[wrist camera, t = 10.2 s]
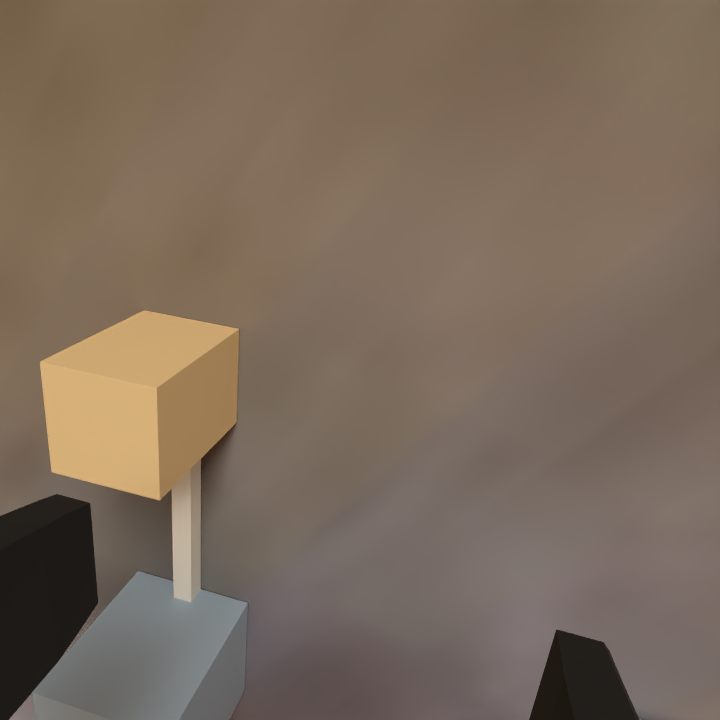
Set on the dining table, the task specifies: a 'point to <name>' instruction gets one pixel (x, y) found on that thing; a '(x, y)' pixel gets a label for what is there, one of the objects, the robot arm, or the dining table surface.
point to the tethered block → (153, 480)
